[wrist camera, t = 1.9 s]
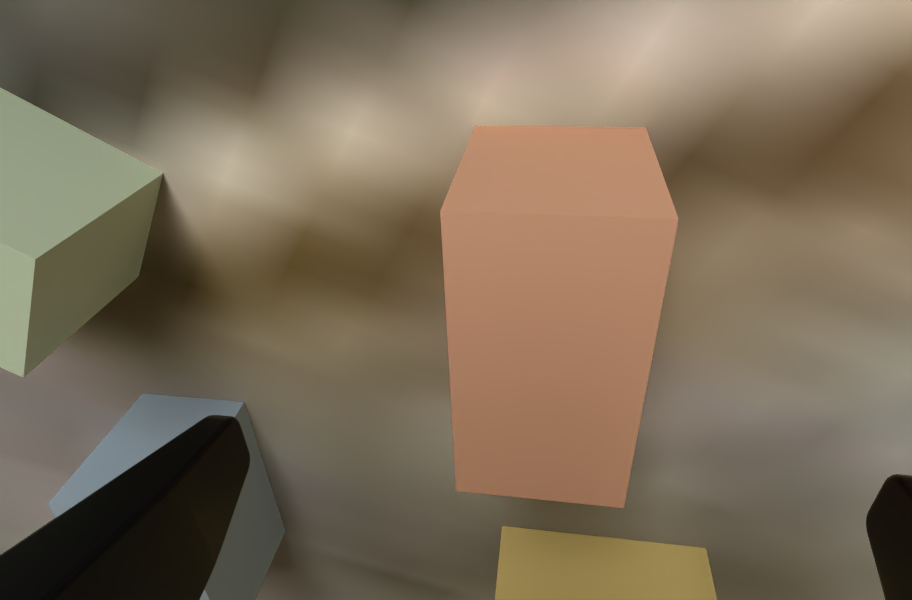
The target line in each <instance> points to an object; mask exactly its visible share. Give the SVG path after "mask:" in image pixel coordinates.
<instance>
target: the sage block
mask: <svg viewBox="0 0 912 600" xmlns="http://www.w3.org/2000/svg"><path fill="white" fill-rule="evenodd" d="M162 177H163V173H162V172H160V171H158V170H156V169H154V168H152V167H150V166H148V165H146V164H145V163H143V162H141V161H139V160H137V159H135V158H133V157H131V156H129V155H127V154H126V153H124V152H122V151H120V150H118V149H116V148H114V147H112V146H110V145H108V144H106V143H105V142H103V141H101V140H99V139H97V138H95V137H93V136H91V135H89V134H87V133H86V132H84V131H82V130H80V129H78V128H76V127H74V126H72V125H70V124H68V123H67V122H65V121H63V120H61V119H59V118H57V117H55V116H53V115H51V114H49V113H48V112H46V111H44V110H42V109H40V108H38V107H36V106H34V105H32V104H30V103H28V102H27V101H25V100H23V99H21V98H19V97H17V96H15V95H13V94H11V93H9V92H8V91H6V90H4V89H2V88H0V367H1V368H3V369H5V370H7V371H10V372H12V373H14V374H16V375H19V376H21V377H23V378H24V377H25V376H26V375H27V374H28V373H29V372H30V371H31V370H33V369H34V368H35V367H36V366H37V365H38V364H39V363H41V362H42V361H43V360H44V359H45V358H46V357H47V356H49V355H50V354H51V353H52V352H53V351H54V350H55V349H57V348H58V347H59V346H60V345H61V344H62V343H63V342H65V341H66V340H67V339H68V338H69V337H70V336H71V335H73V334H74V333H75V332H76V331H77V330H78V329H79V328H81V327H82V326H83V325H84V324H85V323H86V322H87V321H88V320H90V319H91V318H92V317H93V316H94V315H95V314H96V313H98V312H99V311H100V310H101V309H102V308H103V307H104V306H106V305H107V304H108V303H109V302H110V301H111V300H112V299H114V298H115V297H116V296H117V295H118V294H119V293H120V292H122V291H123V290H124V289H125V288H126V287H127V286H128V285H130V284H131V283H132V282H133V281H134V280H135V279H136V278H138V277H139V273H140V269H141V265H142V261H143V257H144V252H145V248H146V244H147V240H148V236H149V231H150V227H151V223H152V219H153V214H154V210H155V206H156V202H157V198H158V193H159V189H160V185H161V181H162Z"/></svg>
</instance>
